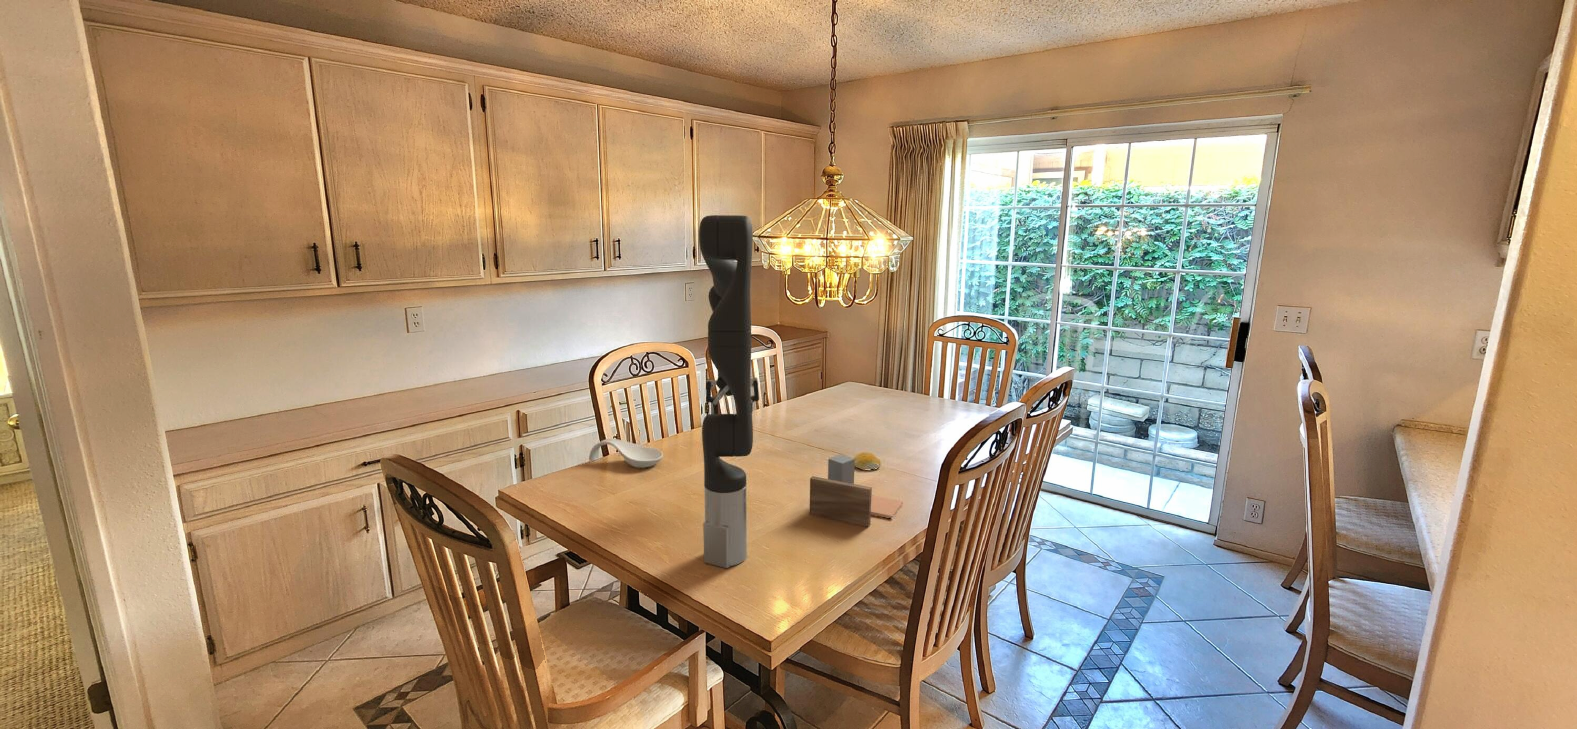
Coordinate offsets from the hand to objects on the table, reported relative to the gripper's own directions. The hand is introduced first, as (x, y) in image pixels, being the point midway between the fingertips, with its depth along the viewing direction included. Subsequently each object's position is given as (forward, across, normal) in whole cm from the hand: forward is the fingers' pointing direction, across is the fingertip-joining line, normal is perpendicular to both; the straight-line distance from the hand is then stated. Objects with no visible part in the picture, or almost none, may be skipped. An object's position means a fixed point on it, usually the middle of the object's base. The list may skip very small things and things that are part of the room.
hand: (733, 415), depth 175 cm
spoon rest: (+25, -34, +21) cm, 47 cm away
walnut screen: (+20, +26, -22) cm, 40 cm away
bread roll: (+25, +41, +15) cm, 50 cm away
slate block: (+22, +28, -10) cm, 37 cm away
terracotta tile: (+21, +38, -16) cm, 46 cm away
